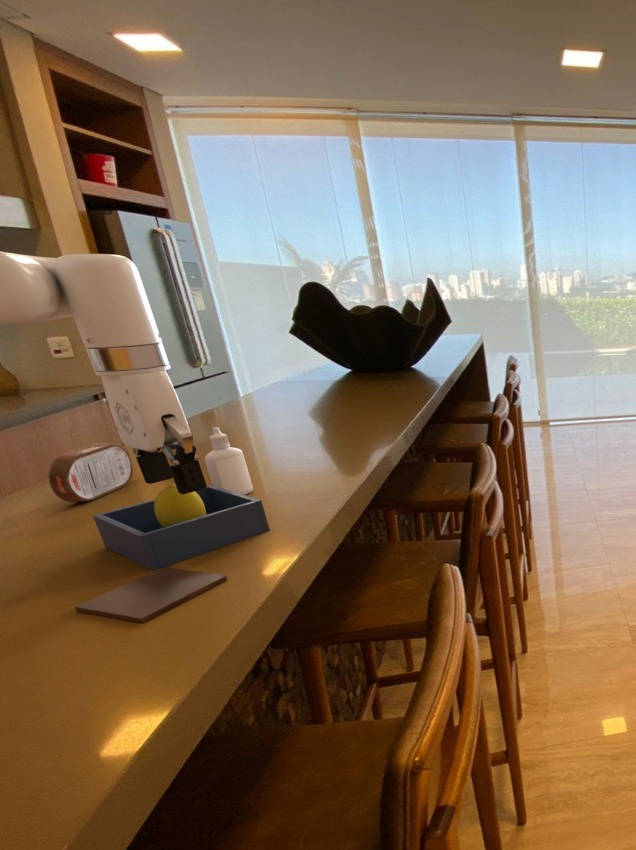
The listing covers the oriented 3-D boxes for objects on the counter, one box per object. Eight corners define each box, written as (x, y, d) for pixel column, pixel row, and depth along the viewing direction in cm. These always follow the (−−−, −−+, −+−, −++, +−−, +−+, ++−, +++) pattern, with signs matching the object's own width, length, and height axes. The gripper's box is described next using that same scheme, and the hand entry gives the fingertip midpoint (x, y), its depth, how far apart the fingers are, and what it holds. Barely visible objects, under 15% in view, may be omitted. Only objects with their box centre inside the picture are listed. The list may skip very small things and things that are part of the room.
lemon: (204, 525, 85) (187, 475, 82) (219, 534, 82) (202, 482, 79) (159, 538, 81) (140, 486, 78) (173, 548, 78) (154, 493, 75)
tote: (153, 570, 72) (140, 536, 70) (105, 547, 79) (92, 515, 77) (270, 530, 84) (261, 500, 82) (219, 512, 91) (210, 484, 89)
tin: (125, 480, 107) (109, 437, 104) (143, 480, 107) (127, 436, 104) (58, 509, 93) (37, 460, 90) (78, 508, 93) (58, 459, 90)
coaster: (142, 623, 61) (140, 618, 60) (76, 611, 63) (74, 606, 63) (227, 579, 70) (226, 575, 69) (166, 570, 72) (164, 566, 72)
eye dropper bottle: (257, 494, 99) (237, 426, 94) (218, 502, 95) (196, 432, 91) (251, 488, 102) (232, 422, 97) (214, 496, 98) (192, 428, 94)
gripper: (66, 361, 73) (116, 485, 80) (123, 367, 65) (174, 505, 72) (136, 354, 79) (177, 470, 86) (196, 359, 71) (237, 486, 78)
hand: (176, 485), depth 79 cm, fingers open, 9 cm apart
